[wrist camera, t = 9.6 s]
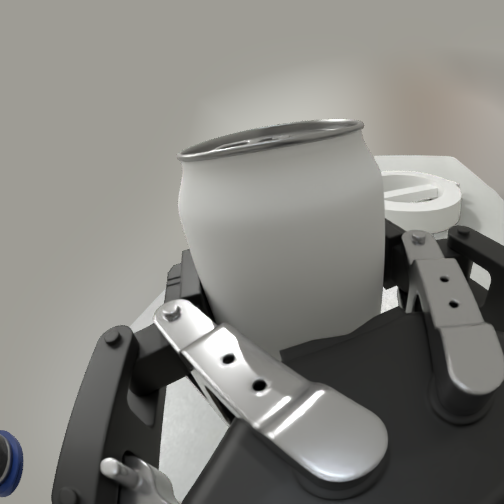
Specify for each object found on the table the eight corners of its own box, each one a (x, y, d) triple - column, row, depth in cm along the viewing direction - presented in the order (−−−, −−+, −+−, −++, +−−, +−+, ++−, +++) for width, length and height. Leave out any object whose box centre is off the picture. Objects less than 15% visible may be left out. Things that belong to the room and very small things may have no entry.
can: (369, 434, 10) (409, 133, 4) (233, 428, 12) (115, 180, 6) (366, 335, 15) (361, 114, 9) (261, 336, 17) (209, 136, 11)
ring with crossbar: (324, 224, 56) (321, 202, 54) (365, 183, 73) (363, 167, 71) (459, 245, 39) (462, 220, 36) (459, 194, 56) (460, 176, 53)
